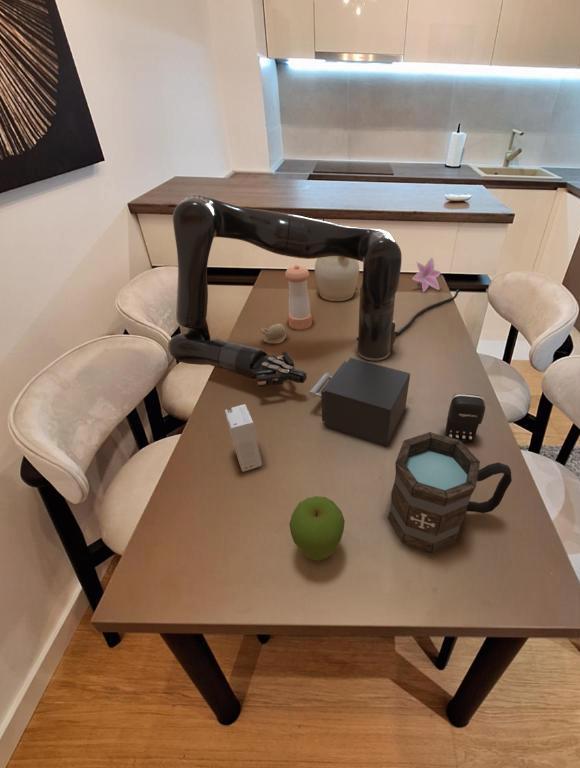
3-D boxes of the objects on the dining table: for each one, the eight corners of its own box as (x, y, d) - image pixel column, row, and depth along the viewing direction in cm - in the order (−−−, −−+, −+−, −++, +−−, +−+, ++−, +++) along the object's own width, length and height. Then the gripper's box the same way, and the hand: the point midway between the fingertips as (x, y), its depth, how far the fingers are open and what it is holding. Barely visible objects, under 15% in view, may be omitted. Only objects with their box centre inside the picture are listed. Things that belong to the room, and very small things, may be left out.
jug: (358, 304, 138) (361, 230, 123) (313, 303, 138) (310, 229, 123) (358, 285, 150) (361, 216, 135) (317, 284, 150) (315, 215, 135)
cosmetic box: (263, 466, 81) (255, 422, 73) (241, 473, 79) (231, 429, 72) (255, 445, 85) (247, 402, 78) (233, 452, 83) (223, 408, 76)
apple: (349, 567, 65) (351, 527, 57) (298, 581, 63) (293, 542, 55) (336, 521, 71) (336, 480, 64) (289, 533, 69) (283, 492, 62)
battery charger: (443, 443, 87) (453, 403, 80) (442, 430, 90) (451, 391, 83) (476, 446, 86) (488, 406, 79) (474, 433, 89) (486, 394, 82)
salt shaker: (310, 330, 124) (307, 270, 112) (287, 329, 124) (282, 269, 112) (312, 318, 129) (310, 261, 117) (290, 318, 129) (285, 260, 117)
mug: (391, 553, 67) (400, 498, 57) (383, 487, 77) (390, 432, 68) (507, 551, 67) (534, 497, 58) (483, 486, 78) (503, 431, 69)
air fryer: (325, 427, 90) (324, 390, 83) (349, 392, 100) (350, 357, 93) (386, 447, 86) (390, 410, 79) (405, 408, 96) (410, 373, 89)
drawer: (305, 415, 91) (303, 385, 86) (328, 385, 101) (328, 356, 95) (377, 439, 86) (380, 408, 81) (395, 404, 95) (399, 375, 90)
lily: (405, 293, 149) (416, 276, 141) (405, 269, 154) (417, 252, 146) (433, 302, 152) (446, 285, 143) (433, 279, 157) (446, 262, 149)
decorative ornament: (290, 339, 119) (288, 323, 116) (265, 348, 115) (263, 332, 112) (282, 333, 122) (281, 317, 118) (258, 342, 117) (256, 326, 114)
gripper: (223, 361, 91) (289, 381, 86) (256, 334, 101) (317, 350, 96) (228, 387, 96) (292, 407, 91) (259, 359, 106) (318, 375, 101)
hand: (305, 378), depth 93 cm, fingers closed
